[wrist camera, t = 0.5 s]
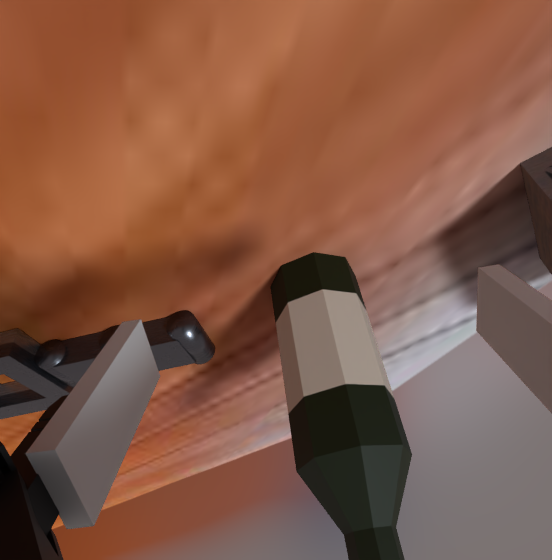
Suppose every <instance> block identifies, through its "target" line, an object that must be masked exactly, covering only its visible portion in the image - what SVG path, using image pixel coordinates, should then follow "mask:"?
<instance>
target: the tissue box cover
mask: <svg viewBox="0 0 552 560" xmlns="http://www.w3.org/2000/svg"><path fill="white" fill-rule="evenodd" d="M520 165H521V169H522V174H523V179H524V184H525V189H526V193H527V198H528V203H529V208H530V212H531V217H532V222H533V227H534V231H535V236H536V241H537V246H538V251H539V256H540V259H541V260H542V262H543V263H544V264H545V266H546V267H547V269H548V270H549V271H550V273H551V274H552V147H551V148H549V149H547V150H545V151H543V152H541V153H539V154H537V155H535V156H533V157H531V158H529V159H528V160H526V161H524V162H522V163H520Z"/></svg>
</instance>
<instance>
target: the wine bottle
mask: <svg viewBox="0 0 552 560" xmlns="http://www.w3.org/2000/svg"><path fill="white" fill-rule="evenodd" d="M271 294H272V301H273V308H274V315H275V322H276V329H277V336H278V343H279V351H280V358H281V365H282V372H283V379H284V386H285V393H286V400H287V407H288V414H289V421H290V428H291V435H292V442H293V449H294V456H295V464H296V470H297V473H298V474H299V475H300V477H301V478H302V479H303V481H304V482H305V483H306V485H307V486H308V487H309V489H310V490H311V491H312V493H313V494H314V495H315V497H316V498H317V499H318V501H319V502H320V503H321V505H322V506H323V507H324V509H325V510H326V511H327V513H328V514H329V515H330V517H331V518H332V519H333V521H334V522H335V524H336V525H337V526H338V528H339V529H340V530H341V532H342V533H343V534H344V537H345V542H346V547H347V552H348V558H349V560H404V556H403V552H402V549H401V545H400V541H399V537H398V533H397V529H396V524H397V520H398V515H399V511H400V506H401V502H402V497H403V492H404V488H405V483H406V479H407V475H408V470H409V466H410V461H411V457H412V453H411V450H410V447H409V444H408V441H407V437H406V434H405V431H404V428H403V425H402V422H401V419H400V415H399V412H398V409H397V406H396V403H395V400H394V397H393V393H392V390H391V387H390V384H389V381H388V377H387V374H386V371H385V368H384V365H383V362H382V358H381V355H380V352H379V349H378V346H377V343H376V340H375V336H374V333H373V330H372V327H371V324H370V321H369V317H368V314H367V311H366V308H365V305H364V302H363V298H362V295H361V292H360V289H359V286H358V283H357V280H356V276H355V274H354V272H353V271H352V269H351V267H350V265H349V263H348V261H347V260H346V258H345V257H340V256H334V255H327V254H321V253H314V252H313V253H311V254H309V255H306V256H304V257H301V258H299V259H296V260H294V261H291V262H289V263H287V264H284V265H282V266H281V267H280V269H279V271H278V273H277V275H276V277H275V279H274V281H273V283H272V285H271Z"/></svg>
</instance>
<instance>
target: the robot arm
mask: <svg viewBox="0 0 552 560" xmlns="http://www.w3.org/2000/svg"><path fill="white" fill-rule="evenodd" d="M476 331H477V332H478V333H479V334H480V335H481V336H482V337H483V339H484V340H485V341H486V342H487V343H488V344H489V345H490V346H491V347H492V348H493V349H494V350H495V352H496V353H497V354H498V355H499V356H500V357H501V358H502V359H503V360H504V362H505V363H506V364H507V365H508V366H509V367H510V368H511V369H512V370H513V371H514V373H515V374H516V375H517V376H518V377H519V378H520V379H521V380H522V381H523V382H524V384H525V385H526V386H528V388H529V389H530V390H531V391H532V392H533V393H534V394H535V396H536V397H537V398H538V399H539V400H540V401H541V402H542V403H543V404H544V405H545V406H546V408H547V409H548V410H549V411H550V412H551V413H552V300H550V299H549V298H548V297H546V296H544V295H543V294H542V293H540V292H539V291H537V290H536V289H534V288H533V287H531V286H530V285H529V284H527V283H526V282H524V281H523V280H521V279H520V278H518V277H517V276H515V275H514V274H513V273H511V272H510V271H508V270H507V269H505V268H504V267H502V266H501V265H499V264H498V265H491V266H485V267H478V293H477V329H476ZM159 378H160V374H159V371H158V368H157V365H156V362H155V359H154V356H153V353H152V351H151V348H150V345H149V342H148V339H147V336H146V333H145V330H144V327H143V324H142V321H141V319H139V320H132V321H126V322H122V323H121V324H120V326H119V327H118V329H117V330H116V331H115V333H114V334H113V335H112V337H111V338H110V339H109V341H108V342H107V343H106V345H105V346H104V348H103V349H102V350H101V352H100V353H99V354H98V356H97V357H96V358H95V360H94V361H93V363H92V364H91V365H90V367H89V368H88V369H87V371H86V372H85V373H84V375H83V376H82V377H81V379H80V380H79V382H78V383H77V384H76V386H75V387H74V388H73V390H72V391H71V392H70V394H69V395H65V396H62V397H60V398H59V399H58V400H57V401H56V402H54V403H53V404H52V405H51V406H49V407H48V408H47V410H46V411H45V412H44V414H43V415H42V416H41V417H40V419H39V422H37V423H36V424H35V425H34V426H33V428H32V429H31V432H29V433H28V434H27V436H26V437H25V438H24V439H23V441H22V442H21V443H20V445H19V446H18V447H17V448H16V450H15V451H14V452H13V454H12V455H11V456H9V454H8V452H7V450H6V449H5V447H4V445H3V444H2V443H1V442H0V560H63V557H62V554H61V551H60V548H59V545H58V542H57V539H56V536H55V534H54V533H53V531H52V529H51V528H52V526H53V524H54V522H55V520H56V518H57V516H58V515H59V516H60V517H61V519H62V521H63V523H64V525H65V527H66V528H67V529H72V528H81V527H89V526H94V525H95V522H96V520H97V518H98V516H99V513H100V511H101V509H102V507H103V504H104V502H105V500H106V497H107V495H108V493H109V491H110V488H111V486H112V484H113V482H114V479H115V477H116V475H117V473H118V470H119V468H120V466H121V464H122V461H123V459H124V457H125V454H126V452H127V450H128V448H129V445H130V443H131V441H132V439H133V436H134V434H135V432H136V430H137V427H138V425H139V423H140V421H141V418H142V416H143V414H144V411H145V409H146V407H147V405H148V402H149V400H150V398H151V396H152V393H153V391H154V389H155V387H156V384H157V382H158V380H159Z"/></svg>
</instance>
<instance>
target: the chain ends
mask: <svg viewBox="0 0 552 560" xmlns="http://www.w3.org/2000/svg"><path fill="white" fill-rule="evenodd" d="M142 324H143V327H144V330H145V333H146V336H147V339H148V342H149V345H150V348H151V351H152V353H153V356H154V359H155V362H156V365H157V368H158V371H160V370H165V369H169V368H174V367H179V366H183V365H188V364H193V363H195V364H204V363H206V362H208V361H209V360H210V359H211V358H212V357H213V355H214V352H215V346H214V344H213V342H212V341H211V339H210V338H209V336H208V335H207V334H206V332H205V331H204V329H203V328H202V326H201V325H200V324H199V322H198V321H197V319H196V318H195V316H194V315H193V314H192V313H191V312H189V311H179V312H177V313H175V314H173V315H172V316H170V317H166V318H161V319H157V320H152V321H148V322H143V323H142ZM119 326H120V325H117V326H113V327H111V328H109V329H108V330H106V331H103V332H99V333H94V334H90V335H85V336H81V337H76V338H72V339H67V340H63V341H59V340H50V341H48V342H46V343H44V344H43V345H41V344H39V343H38V342H36V341H35V340H34V339H32V338H31V337H29V336H28V335H26V334H25V333H24V332H22V331H21V330H19V329H14V330H9V331H5V332H1V333H0V375H1V374H5V375H6V376H8V377H10V378H12V379H14V380H15V381H14V382H10V383H5V384H0V419H4V418H9V417H14V416H18V415H23V414H28V413H33V412H38V411H42V410H47V408H48V407H49V406H51V405H52V404H53V403H54V402H56V401H57V400H58V399H59V398H60V397H62V396H65V395H69V394H70V392H71V391H72V390H73V388H74V387H75V386H76V384H77V383H78V382H79V380H80V379H81V377H82V376H83V375H84V373H85V372H86V371H87V369H88V368H89V367H90V365H91V364H92V363H93V361H94V360H95V358H96V357H97V356H98V354H99V353H100V352H101V350H102V349H103V348H104V346H105V345H106V343H107V342H108V341H109V339H110V338H111V337H112V335H113V334H114V333H115V331H116V330H117V329H118V327H119Z"/></svg>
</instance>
